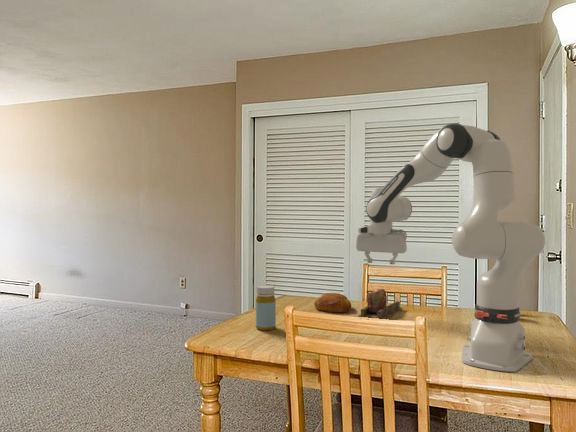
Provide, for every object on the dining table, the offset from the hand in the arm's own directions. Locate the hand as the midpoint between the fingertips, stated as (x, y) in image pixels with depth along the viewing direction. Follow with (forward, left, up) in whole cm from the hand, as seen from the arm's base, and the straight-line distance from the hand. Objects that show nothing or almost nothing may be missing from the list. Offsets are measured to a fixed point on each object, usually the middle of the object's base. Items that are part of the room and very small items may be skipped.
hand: (381, 263), depth 186 cm
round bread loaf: (-2, +20, -21) cm, 29 cm away
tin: (0, +2, -20) cm, 20 cm away
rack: (0, 0, -20) cm, 20 cm away
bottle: (-42, +27, -21) cm, 54 cm away
